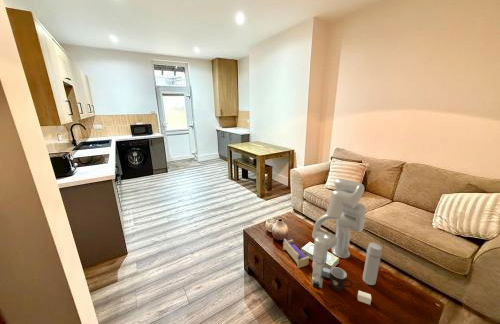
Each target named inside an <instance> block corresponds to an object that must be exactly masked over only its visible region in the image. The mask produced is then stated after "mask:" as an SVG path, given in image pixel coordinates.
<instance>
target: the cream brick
mask: <svg viewBox="0 0 500 324" xmlns="http://www.w3.org/2000/svg"><path fill="white" fill-rule="evenodd" d="M357 301H358V302H361V303H364V304H367V305H369V306H371V303H372V294H370V293H368V292H364V291H361V290H358V291H357Z"/></svg>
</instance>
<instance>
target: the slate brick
mask: <svg viewBox="0 0 500 324" xmlns="http://www.w3.org/2000/svg"><path fill="white" fill-rule="evenodd" d="M321 277H323V278H328V279H330V278H331V268H330V269H329V268H326V267H324V266H323V271H322V276H321Z"/></svg>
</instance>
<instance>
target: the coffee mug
mask: <svg viewBox="0 0 500 324" xmlns="http://www.w3.org/2000/svg"><path fill="white" fill-rule="evenodd" d="M345 282H349V283H350V284H351V285H345ZM330 287H331V289H332V290H333V291H335V292H342V290H343V288H351V287H353V282H352V281H351V280H350V279H347V272H346V271H345V270H344V269H342V268H340V267H336V266H334V267H331V268H330Z"/></svg>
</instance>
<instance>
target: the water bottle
mask: <svg viewBox="0 0 500 324" xmlns="http://www.w3.org/2000/svg"><path fill="white" fill-rule="evenodd" d="M382 251H383V247H382V246H381V244H379V243H376V242H370V243H368V246H367V249H366V256H365V261H364V262H365V263H364V269H363V273H362V281H363V282H364V284H366V285H368V286H369V285H370V286H374V285H376V284H377V283H376V282H377V279H378V273H379V267H380V265H381V264H380V263H381V258H382V257H383V254H382V253H383V252H382Z"/></svg>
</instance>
